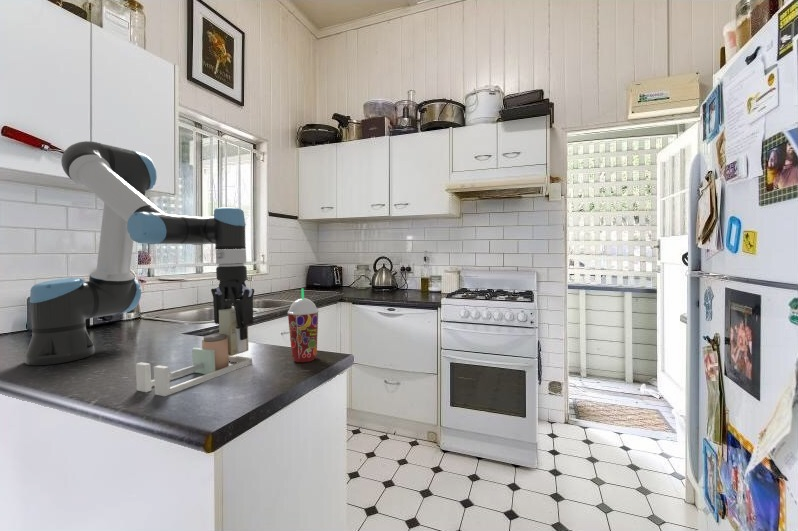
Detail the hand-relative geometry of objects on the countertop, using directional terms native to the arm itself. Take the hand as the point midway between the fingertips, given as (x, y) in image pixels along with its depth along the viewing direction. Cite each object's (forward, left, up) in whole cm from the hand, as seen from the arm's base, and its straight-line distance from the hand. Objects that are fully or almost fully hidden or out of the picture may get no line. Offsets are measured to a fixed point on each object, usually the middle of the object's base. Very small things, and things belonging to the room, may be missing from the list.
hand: (234, 350), depth 101 cm
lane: (0, -11, -4) cm, 11 cm away
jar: (0, -6, -4) cm, 7 cm away
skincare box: (0, 0, -1) cm, 1 cm away
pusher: (0, -14, -3) cm, 14 cm away
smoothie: (+16, +9, -4) cm, 19 cm away
